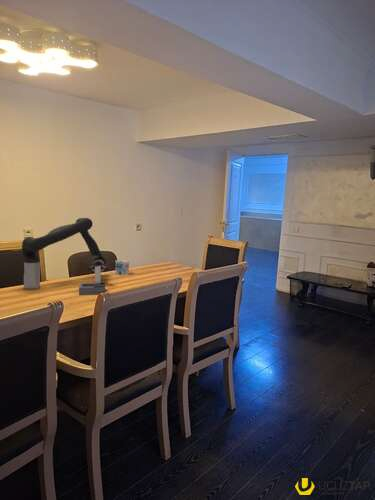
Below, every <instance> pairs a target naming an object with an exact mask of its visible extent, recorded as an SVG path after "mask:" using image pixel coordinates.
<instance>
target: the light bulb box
mask: <svg viewBox="0 0 375 500" xmlns="http://www.w3.org/2000/svg"><path fill="white" fill-rule="evenodd" d="M114 272H115V276H116V275H117V276H119V275H122V276H125V275H127V276H128V275H129V274H130V261H129V260H128V259H126V260H125V259H123V260H122V259H121V260H120V259H119V260H118V259H117V260H116V259H115V271H114Z"/></svg>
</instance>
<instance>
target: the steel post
mask: <svg viewBox="0 0 375 500" xmlns="http://www.w3.org/2000/svg"><path fill="white" fill-rule="evenodd" d="M101 272H102V271H101V266H95V271H94V281H95V284H101V280H102V279H101V277H102V275H101V274H102V273H101Z"/></svg>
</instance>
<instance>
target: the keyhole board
mask: <svg viewBox="0 0 375 500" xmlns="http://www.w3.org/2000/svg"><path fill="white" fill-rule="evenodd" d="M104 292H105V293H106V281H105V280H102V281H101V284H95V280H94V281H93V282H80V283H79V286H78V295H79V296H80V295H101V294H100V293H104Z"/></svg>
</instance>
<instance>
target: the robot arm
mask: <svg viewBox="0 0 375 500" xmlns="http://www.w3.org/2000/svg"><path fill="white" fill-rule="evenodd" d="M92 227H93V220H92V219H91V218H88V217H79V218H78V219H76V220H75V223H72V224H71V223H70V224H65V225H61V226H58V227H56V228H54V229H52V230H50V231H49V232H48V233H47V234H45V235H42V236H38V237H32V236H29V237H25V238H24V239H23V241H22V243H21V244H22V245H21V252H22V259H23V264H24V265H23V267H24V271H23V272H24V273H23V289H26V290H27V289H28V290H36V289H39V288H41V271H40V268H41V267H40V264H41V263H40V261H41V260H40V257H39V255H38V253H37V252H40V251H41V250H43V249H45V248H47V247H49V246H51V245H54V244H57V243H58V242H59V243H60V242H62V241H64V240H66V239H68V238H69V239H70V237H73V236H75V235H77V234H80V235H81V237H82V239H83V240H84V242H85V244H86V245H87V248H88V251H89V253H90V256H93V257H94V256H95V258H93V259H92V260H91V263H92V266H91V265H87V271H90V272H92V271H93V272H95V266H101V272H104V273H105V272H106V271H107V272H108V271H109V265H105V264H107V259H106V257H105V256H104V254H102V252H101V249H100V248H99V245H98V244H97V242H96V240H95V239H94V238H93V236H92V235H91V234H90V232H89V230H91V228H92Z"/></svg>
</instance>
